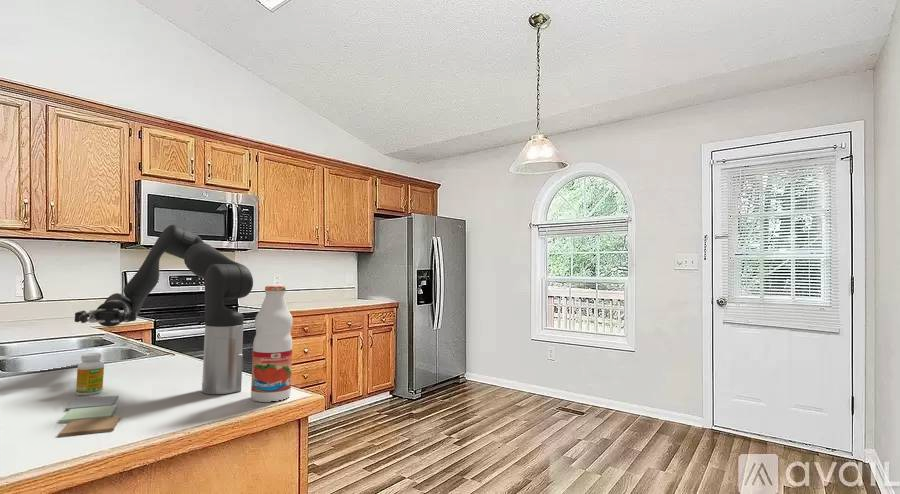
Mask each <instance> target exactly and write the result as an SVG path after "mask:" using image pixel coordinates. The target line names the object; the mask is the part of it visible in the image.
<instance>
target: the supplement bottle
mask: <svg viewBox="0 0 900 494" xmlns="http://www.w3.org/2000/svg"><path fill="white" fill-rule="evenodd" d="M101 360H102V353H100V352H92V353H91V352H90V353H83V354H81V361H82V362H81V363H79V364H78V365H77V370H76V371H77V372H76V386H75V387H76V388H75V394H76V395H77V396H93V395H97V394H100V393H102V392H103V389H104V388H103V387H104V372H105V371H104V370H105V363H104V362H103V361H101Z"/></svg>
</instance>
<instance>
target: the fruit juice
mask: <svg viewBox="0 0 900 494" xmlns="http://www.w3.org/2000/svg"><path fill="white" fill-rule="evenodd" d="M264 292H265V297H264V299H263V302H262V303H261V304H262V305H261V306H260V309H259V311H258V312H257V314H256V316H255V318H254V327H255V336H254V338H253V343H252V359H251V360H252V361H251V363H252V364H251V385H250V387H251V388H250V398H251V400H252V401H254V402H257V401H258V402H259V403H272V402H271V401H276V402H280V401H279V400H281V401H284V400H283V399H285V400H287V399H289V398H290V396H291V393H292V392H291V391H292V389H291V388H292V371H293V370H292V369H293V368H292V367H293V366H292V365H293V347H294V346H293V337H292V334H291V330H292V327H293V324H294V317H293V316H292V314H291V312H290V309H289V307H288V304H287V301H286V297H285V293H286V286H283V285H281V286H280V285H265V287H264ZM288 397H289V398H288ZM286 398H287V399H286Z"/></svg>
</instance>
